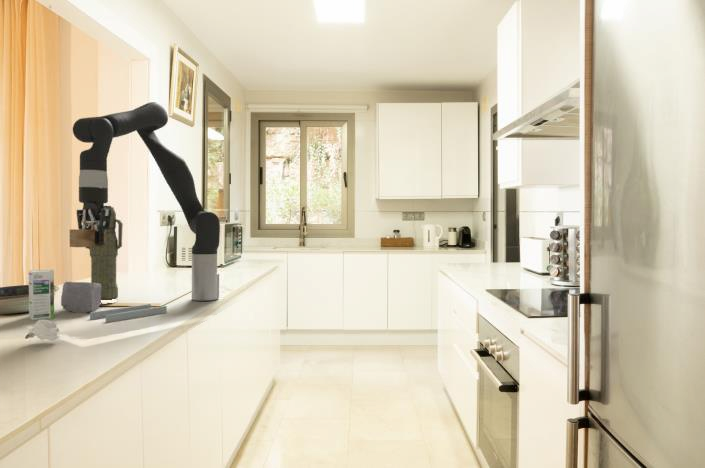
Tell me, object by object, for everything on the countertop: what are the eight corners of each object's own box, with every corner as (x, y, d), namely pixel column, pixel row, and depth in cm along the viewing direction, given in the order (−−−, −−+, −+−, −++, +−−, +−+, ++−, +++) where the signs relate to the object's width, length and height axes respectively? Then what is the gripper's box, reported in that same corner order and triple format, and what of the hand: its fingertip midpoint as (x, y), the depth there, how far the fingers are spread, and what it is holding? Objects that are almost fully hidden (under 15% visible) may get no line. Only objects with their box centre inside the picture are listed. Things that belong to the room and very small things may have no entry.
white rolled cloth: (38, 336, 123) (38, 316, 123) (66, 335, 123) (66, 316, 123) (20, 343, 115) (20, 322, 115) (51, 342, 115) (51, 322, 115)
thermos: (120, 306, 170) (120, 205, 169) (82, 307, 166) (82, 205, 166) (124, 302, 178) (124, 206, 178) (88, 303, 174) (88, 206, 174)
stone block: (103, 311, 158) (103, 281, 158) (94, 314, 153) (94, 282, 153) (69, 311, 159) (69, 280, 159) (58, 313, 154) (58, 282, 154)
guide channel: (148, 309, 162) (148, 303, 162) (166, 312, 157) (166, 306, 157) (89, 319, 145) (89, 312, 145) (107, 322, 140) (107, 315, 140)
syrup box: (31, 320, 142) (31, 271, 142) (28, 318, 146) (28, 269, 146) (54, 318, 146) (54, 270, 145) (50, 315, 150) (50, 268, 150)
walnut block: (98, 246, 146) (98, 229, 145) (106, 246, 142) (105, 229, 142) (69, 246, 139) (69, 229, 139) (76, 247, 136) (76, 229, 136)
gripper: (66, 186, 142) (67, 244, 143) (95, 184, 135) (95, 245, 135) (92, 188, 149) (92, 243, 149) (120, 186, 141) (120, 244, 141)
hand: (93, 244), depth 142 cm, fingers closed on walnut block, 5 cm apart
